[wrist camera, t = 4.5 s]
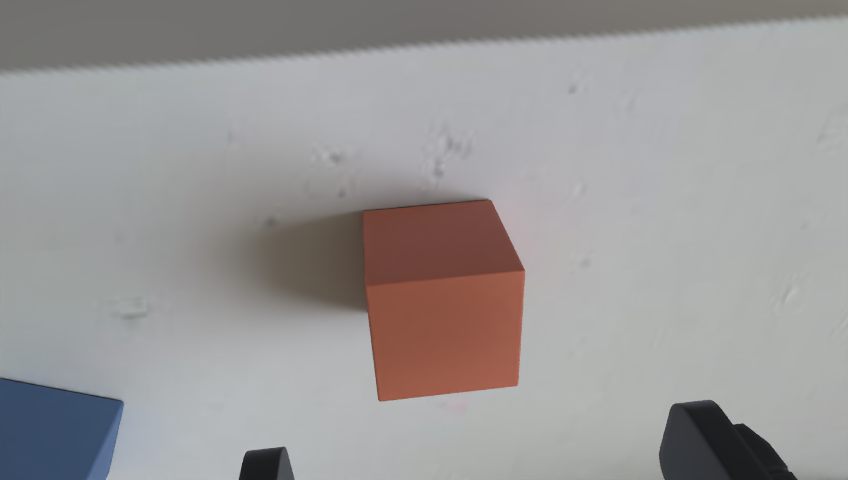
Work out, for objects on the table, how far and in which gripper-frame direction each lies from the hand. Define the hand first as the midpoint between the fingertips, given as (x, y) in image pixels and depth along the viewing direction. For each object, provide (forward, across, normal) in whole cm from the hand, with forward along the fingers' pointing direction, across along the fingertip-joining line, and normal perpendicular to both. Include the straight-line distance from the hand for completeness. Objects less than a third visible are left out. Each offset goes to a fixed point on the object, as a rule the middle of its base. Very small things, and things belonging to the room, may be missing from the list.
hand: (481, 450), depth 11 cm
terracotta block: (+8, 0, 0) cm, 8 cm away
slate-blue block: (+8, +14, +6) cm, 17 cm away
